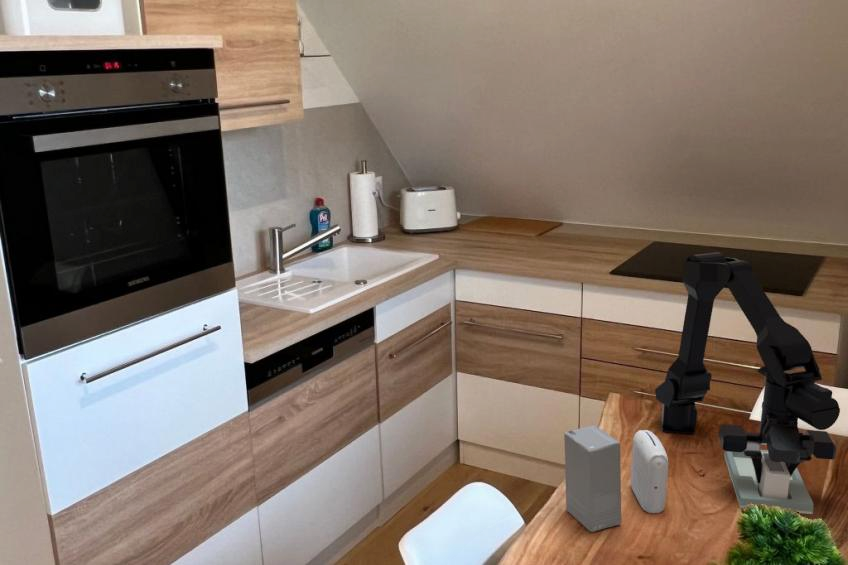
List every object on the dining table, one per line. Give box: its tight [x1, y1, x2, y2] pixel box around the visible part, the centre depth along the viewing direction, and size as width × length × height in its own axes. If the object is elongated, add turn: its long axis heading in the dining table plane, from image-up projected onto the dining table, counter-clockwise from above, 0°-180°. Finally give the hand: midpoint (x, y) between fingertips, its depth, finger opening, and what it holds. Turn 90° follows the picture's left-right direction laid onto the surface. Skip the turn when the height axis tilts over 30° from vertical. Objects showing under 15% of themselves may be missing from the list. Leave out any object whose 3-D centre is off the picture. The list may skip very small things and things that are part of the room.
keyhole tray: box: [723, 449, 815, 515], centre depth 153 cm, size 12×19×2 cm, turn 169°
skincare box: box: [563, 424, 622, 533], centre depth 141 cm, size 8×7×16 cm
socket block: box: [755, 452, 790, 499], centre depth 148 cm, size 4×8×6 cm, turn 169°
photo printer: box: [629, 429, 669, 514], centre depth 147 cm, size 10×4×12 cm, turn 2°
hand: (770, 483), depth 149 cm, fingers closed on socket block, 4 cm apart
